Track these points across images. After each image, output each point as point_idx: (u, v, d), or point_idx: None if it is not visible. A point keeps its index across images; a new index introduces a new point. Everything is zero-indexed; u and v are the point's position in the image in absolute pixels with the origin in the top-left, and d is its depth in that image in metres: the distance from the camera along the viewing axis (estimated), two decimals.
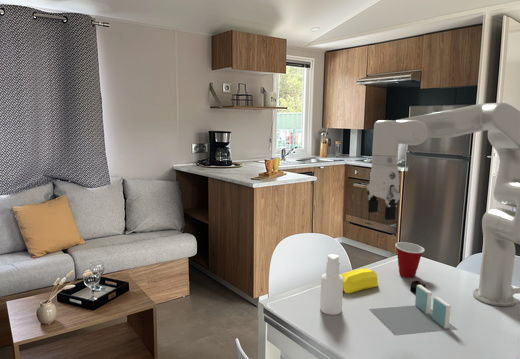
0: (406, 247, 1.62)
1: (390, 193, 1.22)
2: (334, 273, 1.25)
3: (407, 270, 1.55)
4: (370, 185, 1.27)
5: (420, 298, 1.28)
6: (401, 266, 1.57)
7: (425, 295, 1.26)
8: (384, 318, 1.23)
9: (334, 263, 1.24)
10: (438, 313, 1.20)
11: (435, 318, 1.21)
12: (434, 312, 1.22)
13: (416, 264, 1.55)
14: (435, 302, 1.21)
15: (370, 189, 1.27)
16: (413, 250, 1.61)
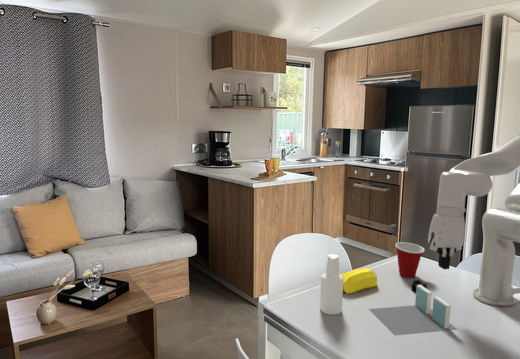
0: (406, 247, 1.62)
1: None
2: (334, 273, 1.25)
3: (407, 270, 1.55)
4: (441, 238, 1.24)
5: (420, 298, 1.28)
6: (401, 266, 1.57)
7: (425, 295, 1.26)
8: (384, 318, 1.23)
9: (335, 263, 1.24)
10: (438, 313, 1.20)
11: (435, 318, 1.21)
12: (434, 312, 1.22)
13: (416, 264, 1.55)
14: (435, 302, 1.21)
15: (440, 242, 1.24)
16: (413, 250, 1.61)
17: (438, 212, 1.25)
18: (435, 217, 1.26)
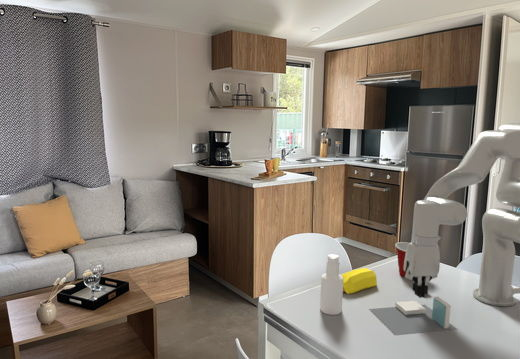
0: (406, 247, 1.62)
1: None
2: (334, 273, 1.25)
3: None
4: (416, 268, 1.24)
5: None
6: (401, 266, 1.57)
7: None
8: (384, 318, 1.23)
9: (334, 263, 1.24)
10: (438, 313, 1.20)
11: (435, 318, 1.21)
12: (434, 312, 1.22)
13: None
14: (435, 302, 1.21)
15: (415, 271, 1.24)
16: None
17: (413, 241, 1.25)
18: (410, 246, 1.25)
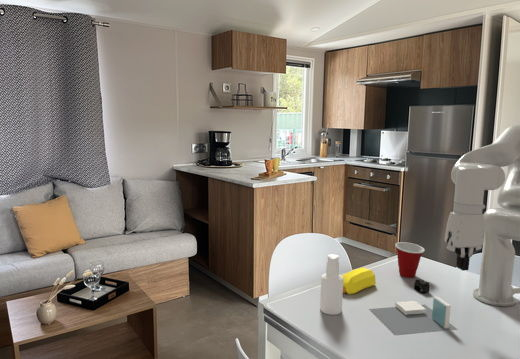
0: (406, 247, 1.62)
1: None
2: (334, 273, 1.25)
3: (407, 270, 1.55)
4: (459, 238, 1.16)
5: None
6: (401, 266, 1.57)
7: None
8: (384, 318, 1.23)
9: (335, 263, 1.24)
10: (438, 313, 1.20)
11: (435, 318, 1.21)
12: (434, 312, 1.22)
13: (416, 264, 1.55)
14: (435, 302, 1.21)
15: (458, 242, 1.16)
16: (413, 250, 1.61)
17: (455, 210, 1.17)
18: (452, 215, 1.17)
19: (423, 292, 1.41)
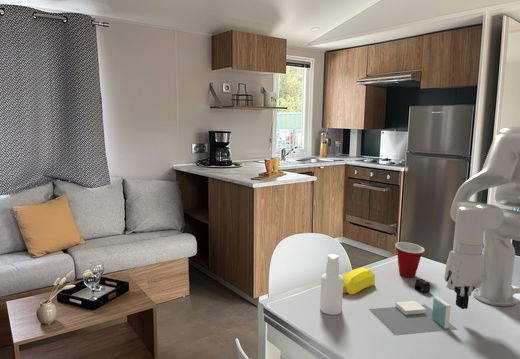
0: (406, 247, 1.62)
1: None
2: (334, 273, 1.25)
3: (407, 270, 1.55)
4: (459, 277, 1.17)
5: None
6: (401, 266, 1.57)
7: None
8: (384, 318, 1.23)
9: (335, 263, 1.24)
10: (438, 313, 1.20)
11: (435, 318, 1.21)
12: (434, 312, 1.22)
13: (416, 264, 1.55)
14: (435, 302, 1.21)
15: (458, 281, 1.17)
16: (413, 250, 1.61)
17: (455, 249, 1.18)
18: (452, 254, 1.18)
19: (424, 292, 1.41)
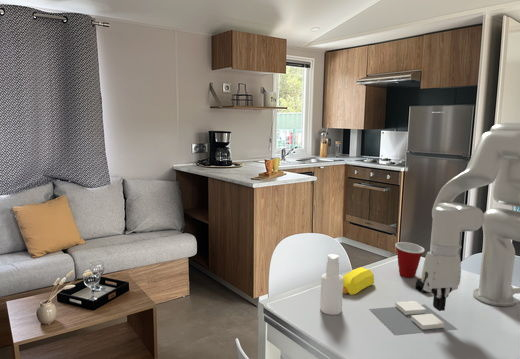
0: (406, 247, 1.62)
1: None
2: (334, 273, 1.25)
3: (407, 270, 1.55)
4: (435, 279, 1.15)
5: None
6: (401, 266, 1.57)
7: None
8: (384, 318, 1.23)
9: (335, 263, 1.24)
10: None
11: None
12: None
13: (416, 264, 1.55)
14: None
15: (435, 283, 1.16)
16: (413, 250, 1.61)
17: (432, 250, 1.16)
18: (429, 255, 1.17)
19: (424, 291, 1.42)
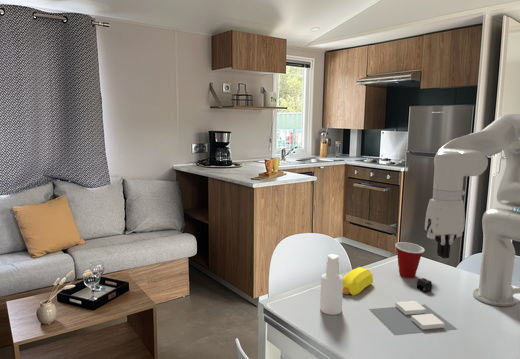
0: (406, 247, 1.62)
1: None
2: (334, 273, 1.25)
3: (407, 270, 1.55)
4: (438, 225, 1.13)
5: None
6: (401, 266, 1.57)
7: None
8: (384, 318, 1.23)
9: (335, 263, 1.24)
10: None
11: None
12: None
13: (416, 264, 1.55)
14: None
15: (438, 229, 1.13)
16: (413, 250, 1.61)
17: (434, 196, 1.14)
18: (431, 202, 1.14)
19: (426, 291, 1.42)
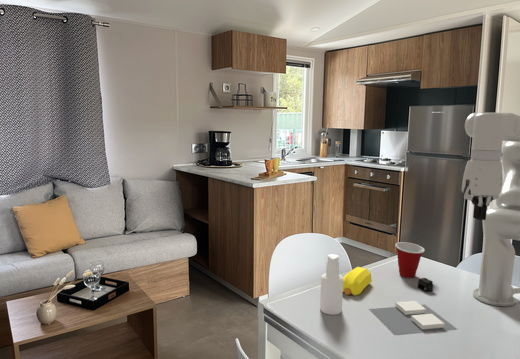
0: (406, 246, 1.62)
1: None
2: (334, 273, 1.25)
3: (407, 270, 1.55)
4: (477, 185, 1.14)
5: None
6: (401, 266, 1.57)
7: None
8: (384, 318, 1.23)
9: (335, 263, 1.24)
10: None
11: None
12: None
13: (416, 264, 1.55)
14: None
15: (476, 190, 1.14)
16: (413, 250, 1.61)
17: (473, 157, 1.15)
18: (470, 163, 1.15)
19: (427, 291, 1.42)
